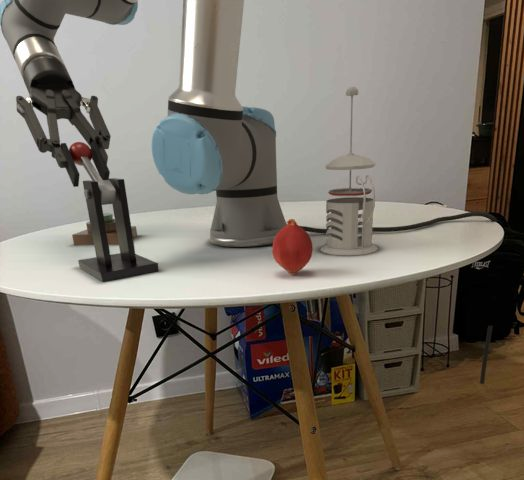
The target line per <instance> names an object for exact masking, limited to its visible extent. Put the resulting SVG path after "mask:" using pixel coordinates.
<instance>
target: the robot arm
mask: <svg viewBox="0 0 524 480" xmlns="http://www.w3.org/2000/svg"><path fill="white" fill-rule="evenodd" d="M244 5H245V0H182V17H181V40H180V41H181V42H180V61H179V65H180V66H179V79H178V80H179V81H178V86H177V89H175V90H174V91H173V92H172V93H171V94H170V95H169V96H168V98H167V116H165V117H164V118H162V119H161V120H160V121H159V124H158V125H156V126H155V128H154V130H153V133H152V136H151V154H152V159H153V162H154V165H155V167H156V169H157V172H158V173H159V175H161V176H162V178H163V179H164V181H165V183H166V184H167V185H168V186H169V187H171V188H172V189H173V190H175V191H176V192H179V193H181V194H184V195H207V194H210V193H213V192H215V195H216V203H215V206H214V207H215V208H214V212H213V217H212V221H211V226H210V232H209V236H210V238H209V239H210V243H211V244H213V245H215V246H219V247H228V248H250V247H253V248H254V247H262V246H263V247H264V246H270V245H273V241H274V239H275V237H276V235H277V233H278V232H279V231H280V230H281V229H282V228H284V227H285V226H286V225H287V221H286V219H285V215H284V213H283V210H282V207H281V204H280V201H279V198H278V173H277V169H278V168H277V130H276V126H275V125H276V124H275V118H274V115H273V114H272V113H271V112H270V111H269V110H267V109H264V108H261V107H255V106H251V107H250V106H244V105H242V104H241V102H240V101H239V100H238V98H237V96H236V89H237V79H238V78H237V77H238V67H239V58H240V49H241V48H240V47H241V38H242V27H243V26H242V25H243V16H244V7H245V6H244ZM138 6H139V0H3V1H1V2H0V30H1V34H2V36H3V38H4V40H5V41H6V43H7V46H8V48H9V50H10V52H11V54H12V55H11V56H12V57H13V59H14V62H15V64H16V66H17V68H18V70H19V73H20V76H21V77H22V80H23V83H24V85H25V88H26V90H27V92H28V97H24V96H22V95H17V96H16V97H15V105H16V112H17V113H18V114H19V115H20V116H21V117H22V118H23V119H24V121H25V123H26V125H27V128H28V130H29V132H30V134H31V136H32V138H33V141H34V143H35V145H36V147H37V150H38V151H39V152H40V153H43V154H45V153H47V152H49V153H51V157H52V158H53V159H55V162H56V163H57V166H58V167H59V168H60V169H65V170H66V172H67V175H68V177H69V180H70V182H71V184H72V187H73V188H76V187H78V188H79V185H80V176H81V175H80V172H79V169H78V168H77V164H75V163H74V161H73V158H72V156H71V154H70V151H69V146H68V144H67V143H66V142H61V139H60V131H59V123H58V120H62V119H63V120H68V122H69V124H71V126H74V127H75V128H76V131H77V132H79V134H80V135H81V136H82V138H83V139H84V141H85V142H86V144H87V145H88V146H89V147H90V149H91V151H92V159H91V161H92V162H93V165H94V167H95V169H96V171H97V172H98V174H99V175H100V177H101V178H102V180H108V179H110V175H111V173H110V168H109V167H108V161H109V155H108V153H107V151H106V150H108V149H110V143H111V133H110V131H109V129H108V126H107V124H106V122H105V119H104V117H103V114H102V113H101V110H100V107H99V106H98V105H99V98H98V96H96V95H91V96H90V98H87V97H83V96H82V93H80V92H79V91H78V90H77V89H76V86H75V84H74V82H73V80H72V78H71V75H70V73H69V71H68V69H67V66H66V64H65V63H64V60H63V58H62V56H61V54H60V51H59V49H58V47H57V45H56V43H55V37H56V34H57V32H58V31H59V28H60V27H61V24H62V22H63V20H64V18H65V16H66V15H70V16H75V17H78V18H85V19H87V20H93V21H97V22H101V23H105V24H108V25H112V26H116V25H117V26H125V25H128V24H130V23H131V22H132V21H133V20H134V19H135V15H136V13H137V12H138ZM81 107H83V108H84V110H85V111H86V114H88V117H89V119H90V122H91V123H90V122H89V120H88V119H87V117H86V116H85V115H84V113H82V111H81ZM35 109H36V110H37V111H39V112H40V113H42V114H44V115H45V116H46V123H47V127H48V137H49V138H48V137H47V135H46V133H45V131H44V129H43V127H42V124H41V123H40V120H39V119H38V116H37V114H36V112H35ZM91 124H92V125H91ZM470 217H482V218H486V219H488V220H489V221H490V222H493V223H499V220H498V219H497V218H496V216H494V215H492V214H490V213H489V212H485V211H469V212H463V213H458V214H454V215H447V216H441V217H440V216H439V217H436V218H433V219H430V220H427V221H426V220H425V221H422V222H418V223H413V224H408V225H399V226H372V229H371V230H372V233H392V232H405V231H411V230H416V229H420V228H424V227H428V226H432V225H435V224H438V223H441V222H442V223H443V222H449V221H450V222H451V221H455V220H460V219H465V218H470ZM299 226H300V227H301V228H303V229H304V230H305V231H306V232H307V233H308V232H309V233H313V234H326V232H327V230H328V229H326V228H317V227H311V226H306V225H305V226H304V225H299ZM361 228H362V226H358V229H361ZM493 327H494V325H487V331H486V336H485V344H484V349H483V356H482V364H481V370H480V379H479V380H480V381H479V384H481V385H484V384H485V379H486V372H487V364H488V358H489V352H490V346H491V340H492V332H493Z"/></svg>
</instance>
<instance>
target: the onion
mask: <svg viewBox="0 0 524 480" xmlns="http://www.w3.org/2000/svg"><path fill="white" fill-rule="evenodd" d="M297 223H298V222H297V221H296V219H294V218H289V219H288V220H287V221H286V224H287V225H286V226H285V227H284V228H282V229H281V230H280V231H279V232H278V233H277V235H276V237H275V239H274V241H273V244H272V249H271V252H272V253H271V254H272V256H273V259H274V261H275V263H277V264H278V266H280V268H282V269H284V270H285V271H286V272H287V273H288V274H289V275H293V276H294V275H297V274H298V273H299V272H300V271H301V270H303V269H304V268H305V267H306V266H307V265H308V264H309V262H310V260H311V259H312V256H313V250H314V248H313V247H314V246H313V241H312V238H311V237H310V235H309V233H308V232H307V231H305V230H304V229H303V228H301V227H300V226H301V225H298V224H297Z"/></svg>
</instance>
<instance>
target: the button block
mask: <svg viewBox="0 0 524 480" xmlns="http://www.w3.org/2000/svg"><path fill="white" fill-rule="evenodd" d="M85 224H86V229H84V230H81V231H79V232H75V233H73V234H71V236H72V242H73V246H94V241H93V236H92V230H91V225H90V220H89V221H86V222H85ZM105 227H106V233H107V239H108V245H109V246H119V242H118V236H117V230H116V223H115V218H113V222H109V223H105ZM131 229H132V235H133V239H134V238H137V237H138V230H137V226H136V225H131Z"/></svg>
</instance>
